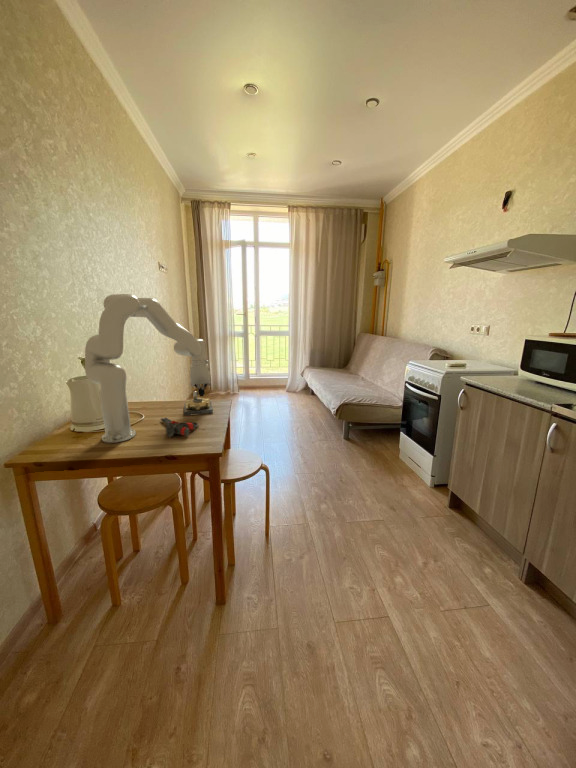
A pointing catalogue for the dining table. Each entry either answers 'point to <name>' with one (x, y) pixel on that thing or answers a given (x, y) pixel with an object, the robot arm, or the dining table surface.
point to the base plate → (200, 411)
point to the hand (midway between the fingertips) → (201, 395)
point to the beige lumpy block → (197, 402)
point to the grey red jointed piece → (178, 427)
